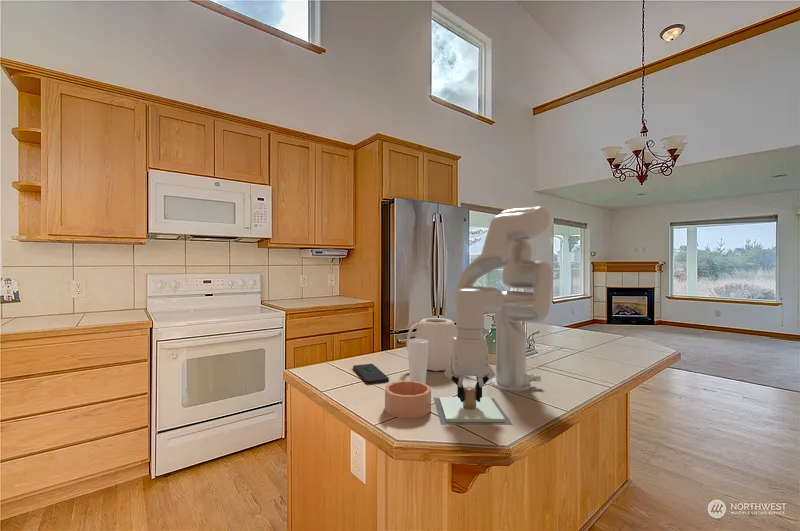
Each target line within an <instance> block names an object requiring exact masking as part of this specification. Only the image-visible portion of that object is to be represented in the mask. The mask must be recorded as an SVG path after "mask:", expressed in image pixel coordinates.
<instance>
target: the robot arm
mask: <svg viewBox="0 0 800 531" xmlns="http://www.w3.org/2000/svg"><path fill="white" fill-rule="evenodd" d="M550 222H551V215H550V212H549V210H548V209H547V207H545V206H539V205H538V206H529V207H520V208H519V207H518V208H517V207H516V208H510V209H506V210H503V211H501V212H499V214H498V215H495V216H494V217H493V218H492V219H491V221H490V223H489V226H488V231H487V232H486V237H485V240H484V244H483V246H482V251H481V253H480V254H479V255H478V256H477V257H476V258H474V259H473V260H472V261H471V262H470V263H469V264H468V265H467V266H466V267H465V269H463V271H462V272H461V274H460V276H459V279H458V283H457V285H456V289H455V293H454V304H455V305H456V306H455V307H456V309H455V310H456V311H455V313H456V314H455V315H456V316H455V318H456V320H455V321H456V322H455V324H456V325H455V326H456V337H454V338H453V342H452V349H451V364H450V365H449V367H448V368H447V370H444V375H445V377H446V378H448V379H450V380H451V381H452V382H453V383H454V384H455V385H456V386H457V387H456V388H457V389H456V390H457V393H456V394H457V395H456V397H458V398H460V400H461V402H463V401H464V387H465V386H464V385H463V382H464V377H476V383H475V385H474V388H476V400H477V402H480V398H482V397H483V387H484V386H485V384H486V383H487V382H489V380H490V381H491V382H490V383H491V386H493V387H494V388H496V389H499V390H503V391H506V392H507V391H508V392H526V391H529V390H530V389H531V388H532V387H531V386H532V385H531V384H532V382H541V381H542V378H541V377H542V376H541V375H538V374H537V375H535V374H534V373H528V372H527V366H526V364H527V361H526V360H527V354H526V353H527V334H526V330H525V328H524V327H523V324H522V323H521V322H529V323H543V322H545V321H546V320H547V319H548V316H549V313H550V305H551V296H552V287H553V269H552V266H551V264H550V263H548V262H547V261H544V260H532V254H533V253H532V252H533V248H532V245H531V243H530V242H529V241H528V240H532V239H535V238H537V237H538V236H540V235H542V234H543V233H545V232H546V231H547V230H548V228H549V226H550ZM501 268H502V283H503V285H504V286H506V287H508V288H511V289H521V290H522V289H523V290H533V292H532V291H531V292H530V291H515V290H505V291H504V290H503V291H501V290H500V289H499V288H496V287H492V286H489V287H488V286H477V285H476V286H475V284H476V282H477V281H478V280H479V279H480V278H481V277H483V276H485V275H487V274H489V273H491V272H494V271H496V270H499V269H501ZM485 314H489V315H490V314H491V315H492V314H494V318H495V329H496V330H495V332H496V333H495V337H496V338H495V339H496V340H495V371H494V370H493V368H492V367H491V366H490V356H489V347H488V342H487V338H486V335H490V330H489V329H486V327H485Z"/></svg>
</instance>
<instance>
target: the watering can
mask: <svg viewBox="0 0 800 531" xmlns="http://www.w3.org/2000/svg"><path fill="white" fill-rule="evenodd" d="M455 324H456V323H455V322H454V321H453V320H451V319H450V318H449V319H447V318H443V317H429V318H428V317H426V318H423V319H421V320H420V321H418V322H415V323H414V324H412V325H411V327H410V328H409V330H408V332H407V336H406V340H405V342H406V343H405V344H406V350H407V351H408V341H409V340H411V334H412V332H413V330H414V329H416V332H415V338H414V339H425V340H428V363H427V370H428V371H433V372H439V371H446V370H447V368H448V367H449V365H450V364H451V349H452V342H453V338H454V337H456V325H455Z"/></svg>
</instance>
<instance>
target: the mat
mask: <svg viewBox="0 0 800 531" xmlns="http://www.w3.org/2000/svg"><path fill="white" fill-rule="evenodd" d="M490 398H491V400H492V401H493V402H494V404H495V405H496V407H497V408H498V410H499V411H500V412H501V414H502V415H503V417H504V418H505V422H446V420H445V417H444V413H443V410H442V407H441V404H440V401H439V397H433V401H434V405H435V409H436V411H437V416H438V420H439V422H440V425H441V426H442V425H443V426H444V425H446V426H447V425H449V426H450V425H455V426H459V425H460V426H462V425H463V426H465V425H466V426H469V425H470V426H474V425H475V426H485V425H486V426H488V425H492V426H494V425H495V426H497V425H498V426H503V425H504V426H513V423H512V421H511V420H510V419H509V417H508V416H507V415H506V413H505V412H504V410H503V409H502V408H501V406H500V405H499V403H497V401H496V400H495V398H494V397H490Z"/></svg>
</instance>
